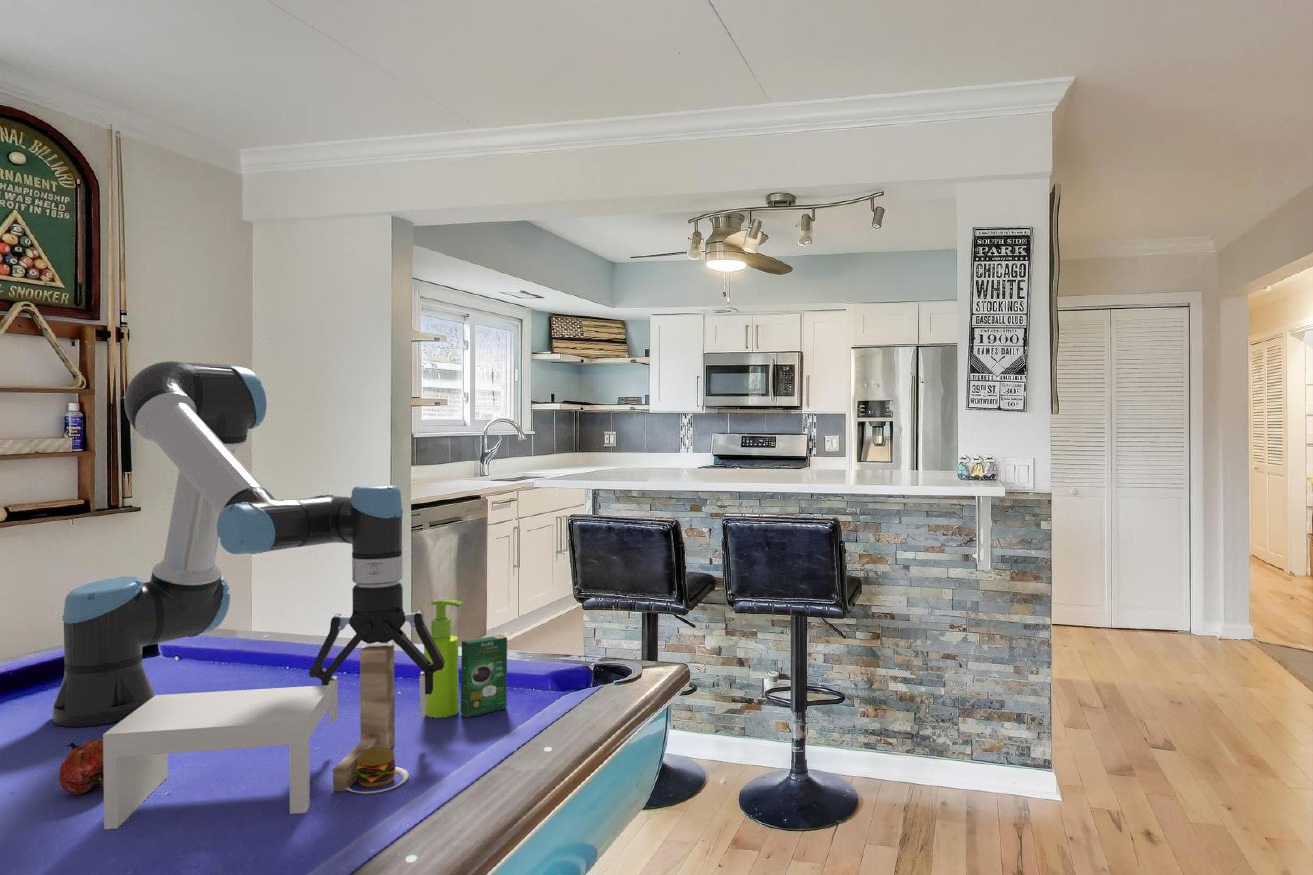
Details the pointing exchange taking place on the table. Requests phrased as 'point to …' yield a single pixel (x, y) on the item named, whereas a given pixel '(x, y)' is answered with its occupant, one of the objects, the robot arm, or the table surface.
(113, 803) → the shelf
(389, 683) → the block
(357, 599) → the robot arm
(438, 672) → the soap dispenser
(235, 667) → the table surface
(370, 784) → the hamburger
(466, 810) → the table surface
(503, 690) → the coffee box
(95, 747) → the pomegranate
